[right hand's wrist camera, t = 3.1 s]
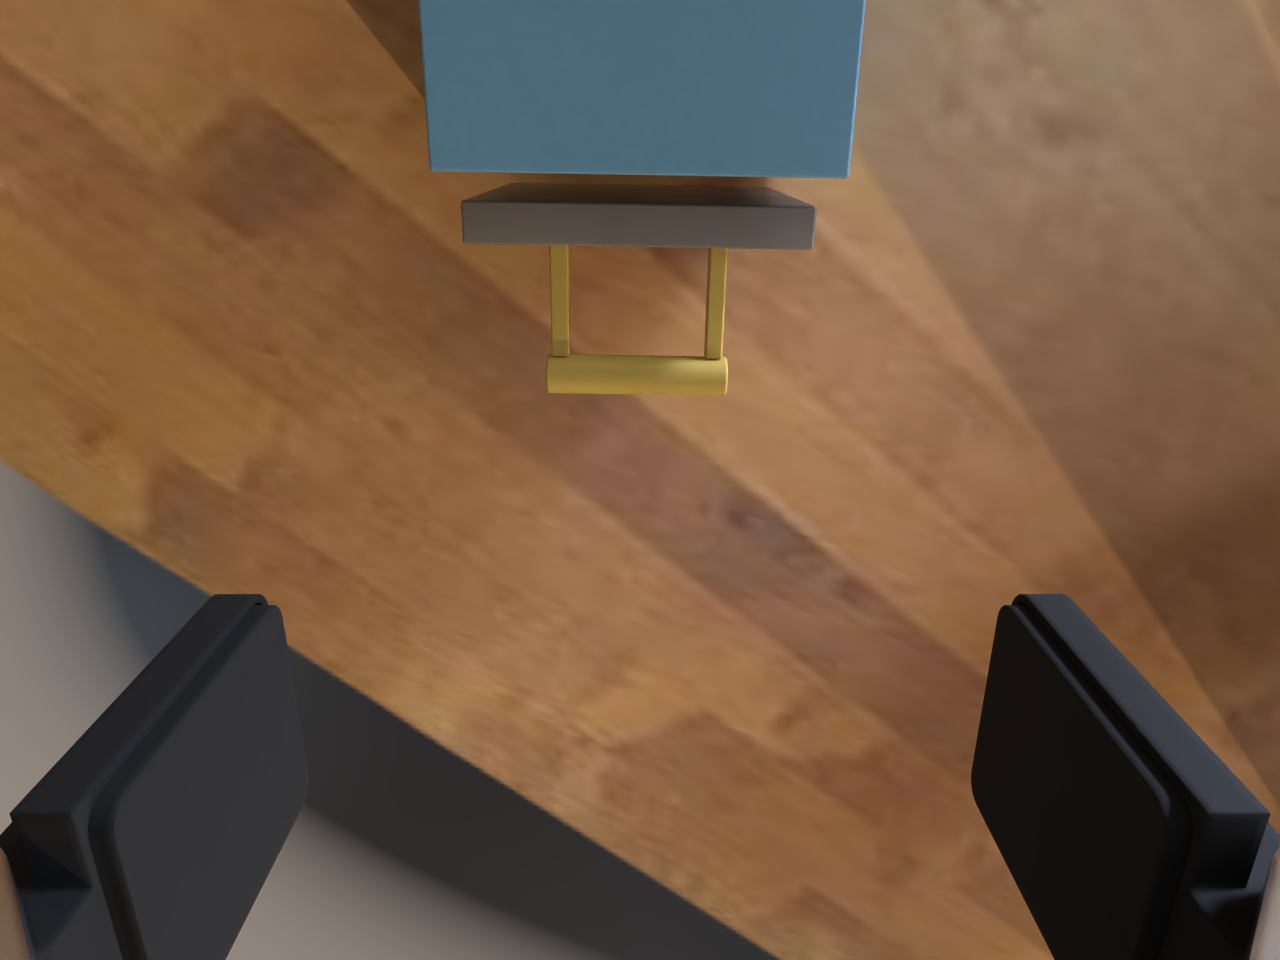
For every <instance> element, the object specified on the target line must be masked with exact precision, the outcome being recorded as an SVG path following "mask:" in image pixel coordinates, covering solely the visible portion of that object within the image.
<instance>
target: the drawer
mask: <svg viewBox="0 0 1280 960" xmlns="http://www.w3.org/2000/svg"><path fill="white" fill-rule="evenodd" d="M461 211H462V230H463V242H464V243H465V244H502V245H550V286H551V334H552V354H549V355H548V356H547V359H546V388H547V391H548V392H549V393H586V394H648V395H709V396H723V395H725V394H726V391H727V381H728V364H727V359H726V358H725V357H722V348H723V328H724V309H725V289H726V269H727V250H728V248H740V249H800V250H811V249H813V246H814V234H815V222H816V211H817V209H816V207H815V206H812V205H810V204H807V203H805V202H803V201H800V200H798V199H795V198H793V197H790V196H788V195H786V194H783V193H781V192H778V191H776V190H773V189H771V188H769V187H713V186H655V185H596V184H537V183H510V184H507V185H504V186H502V187H499V188H496V189H493V190H491V191H488V192H485V193H482V194H480V195H477V196H474V197H471V198H469V199H466V200H463V201H462V202H461ZM569 246H621V247H681V248H709V255H708V278H707V301H706V324H705V347H704V355H705V357H696V356H635V355H574V354H569V353H570V313H569Z"/></svg>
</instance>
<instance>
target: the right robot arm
mask: <svg viewBox="0 0 1280 960" xmlns="http://www.w3.org/2000/svg"><path fill="white" fill-rule="evenodd" d="M308 785H309V774H308V767H307V761H306V755H305V749H304V743H303V737H302V731H301V725H300V719H299V713H298V707H297V701H296V695H295V689H294V684H293V677H292V672H291V665H290V660H289V654H288V648H287V642H286V636H285V630H284V624H283V618H282V614H281V611H280V609H279V607H277V606H276V605H268V602H267V600H266V599H265V597H264V596H262V595H261V594H217V595H214V596H212V597H211V598H210V599H209V600H208V601H207V602H206V603H205V604H204V605H203V606H202V607H201V608H200V610H199V611H198V612H197V613H196V614H195V615H194V616H193V617H192V618H191V619H190V620H189V621H188V622H187V623H186V625H185V626H184V627H183V628H182V629H181V630H180V631H179V632H178V633H177V634H176V635H175V636H174V637H173V638H172V640H171V641H170V642H169V643H168V644H167V645H166V646H165V647H164V648H163V649H162V650H161V651H160V652H159V654H158V655H157V656H156V657H155V658H154V659H153V660H152V661H151V662H150V663H149V664H148V665H147V666H146V667H145V669H144V670H143V671H142V672H141V673H140V674H139V675H138V676H137V677H136V678H135V679H134V680H133V681H132V683H131V684H130V685H129V686H128V687H127V688H126V689H125V690H124V691H123V692H122V693H121V694H120V695H119V696H118V698H117V699H116V700H115V701H114V702H113V703H112V704H111V705H110V706H109V707H108V708H107V709H106V710H105V712H104V713H103V714H102V715H101V716H100V717H99V718H98V719H97V720H96V721H95V722H94V723H93V724H92V725H91V727H90V728H89V729H88V730H87V731H86V732H85V733H84V734H83V735H82V736H81V737H80V738H79V739H78V741H77V742H76V743H75V744H74V745H73V746H72V747H71V748H70V749H69V750H68V751H67V752H66V753H65V754H64V756H63V757H62V758H61V759H60V760H59V761H58V762H57V763H56V764H55V765H54V766H53V767H52V768H51V770H50V771H49V772H48V773H47V774H46V775H45V776H44V777H43V778H42V779H41V780H40V781H39V782H38V783H37V785H36V786H35V787H34V788H33V789H32V790H31V791H30V792H29V793H28V794H27V795H26V796H25V797H24V799H23V800H22V801H21V802H20V803H19V804H18V805H17V806H16V807H15V808H14V809H13V810H12V811H11V812H10V816H11V819H12V823H11V824H10V825H9V826H8V827H7V828H6V829H5V831H4V832H3V833H2V834H1V835H0V960H225V959H226V957H227V955H228V953H229V951H230V949H231V947H232V945H233V943H234V941H235V939H236V937H237V935H238V933H239V931H240V930H241V928H242V926H243V924H244V921H245V920H246V918H247V916H248V914H249V912H250V910H251V908H252V906H253V904H254V902H255V900H256V898H257V896H258V894H259V892H260V890H261V888H262V886H263V884H264V882H265V880H266V878H267V876H268V874H269V872H270V870H271V868H272V866H273V864H274V862H275V860H276V858H277V856H278V854H279V852H280V850H281V848H282V846H283V844H284V842H285V840H286V838H287V836H288V834H289V832H290V830H291V828H292V826H293V824H294V822H295V820H296V818H297V816H298V814H299V812H300V810H301V808H302V806H303V804H304V802H305V799H306V796H307V792H308ZM971 785H972V792H973V796H974V799H975V802H976V804H977V806H978V808H979V810H980V812H981V814H982V816H983V818H984V820H985V822H986V824H987V826H988V828H989V830H990V832H991V834H992V836H993V838H994V840H995V842H996V844H997V846H998V848H999V850H1000V852H1001V854H1002V856H1003V858H1004V860H1005V862H1006V864H1007V866H1008V868H1009V870H1010V872H1011V874H1012V876H1013V878H1014V880H1015V882H1016V884H1017V886H1018V888H1019V890H1020V892H1021V894H1022V896H1023V898H1024V900H1025V902H1026V904H1027V906H1028V908H1029V910H1030V912H1031V914H1032V916H1033V918H1034V920H1035V922H1036V924H1037V926H1038V928H1039V930H1040V932H1041V934H1042V936H1043V937H1044V939H1045V941H1046V943H1047V945H1048V947H1049V949H1050V951H1051V953H1052V955H1053V957H1054V959H1055V960H1280V835H1279V834H1278V833H1277V832H1276V831H1275V829H1274V828H1273V827H1272V826H1271V825H1270V824H1269V823H1268V819H1269V816H1270V812H1269V811H1268V810H1267V809H1266V808H1265V807H1264V806H1263V805H1262V804H1261V803H1260V802H1259V801H1258V800H1257V799H1256V797H1255V796H1254V795H1253V794H1252V793H1251V792H1250V791H1249V790H1248V789H1247V788H1246V787H1245V786H1244V785H1243V783H1242V782H1241V781H1240V780H1239V779H1238V778H1237V777H1236V776H1235V775H1234V774H1233V773H1232V772H1231V771H1230V770H1229V768H1228V767H1227V766H1226V765H1225V764H1224V763H1223V762H1222V761H1221V760H1220V759H1219V758H1218V757H1217V756H1216V754H1215V753H1214V752H1213V751H1212V750H1211V749H1210V748H1209V747H1208V746H1207V745H1206V744H1205V743H1204V742H1203V741H1202V739H1201V738H1200V737H1199V736H1198V735H1197V734H1196V733H1195V732H1194V731H1193V730H1192V729H1191V728H1190V727H1189V725H1188V724H1187V723H1186V722H1185V721H1184V720H1183V719H1182V718H1181V717H1180V716H1179V715H1178V714H1177V713H1176V712H1175V710H1174V709H1173V708H1172V707H1171V706H1170V705H1169V704H1168V703H1167V702H1166V701H1165V700H1164V699H1163V698H1162V696H1161V695H1160V694H1159V693H1158V692H1157V691H1156V690H1155V689H1154V688H1153V687H1152V686H1151V685H1150V684H1149V683H1148V681H1147V680H1146V679H1145V678H1144V677H1143V676H1142V675H1141V674H1140V673H1139V672H1138V671H1137V670H1136V669H1135V667H1134V666H1133V665H1132V664H1131V663H1130V662H1129V661H1128V660H1127V659H1126V658H1125V657H1124V656H1123V655H1122V654H1121V652H1120V651H1119V650H1118V649H1117V648H1116V647H1115V646H1114V645H1113V644H1112V643H1111V642H1110V641H1109V640H1108V638H1107V637H1106V636H1105V635H1104V634H1103V633H1102V632H1101V631H1100V630H1099V629H1098V628H1097V627H1096V626H1095V625H1094V623H1093V622H1092V621H1091V620H1090V619H1089V618H1088V617H1087V616H1086V615H1085V614H1084V613H1083V612H1082V611H1081V609H1080V608H1079V607H1078V606H1077V605H1076V604H1075V603H1074V602H1073V601H1072V600H1071V599H1070V598H1069V597H1068V596H1066V595H1063V594H1019V595H1018V596H1016V597H1015V599H1014V600H1013V602H1012V605H1004V606H1003V607H1001V609H1000V611H999V614H998V618H997V624H996V630H995V636H994V642H993V648H992V654H991V660H990V665H989V671H988V677H987V683H986V689H985V695H984V701H983V707H982V713H981V719H980V725H979V731H978V737H977V743H976V749H975V755H974V760H973V766H972V774H971Z"/></svg>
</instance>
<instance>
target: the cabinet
mask: <svg viewBox="0 0 1280 960" xmlns="http://www.w3.org/2000/svg"><path fill="white" fill-rule="evenodd" d="M418 1H419V16H420V31H421V46H422V61H423V76H424V91H425V106H426V120H427V135H428V150H429V165H430V170H431V171H438V172H497V173H555V174H614V175H672V176H730V177H789V178H847V177H848V176H849V168H850V157H851V147H852V137H853V126H854V116H855V106H856V95H857V85H858V75H859V64H860V54H861V44H862V33H863V23H864V13H865V2H866V0H418Z"/></svg>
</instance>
